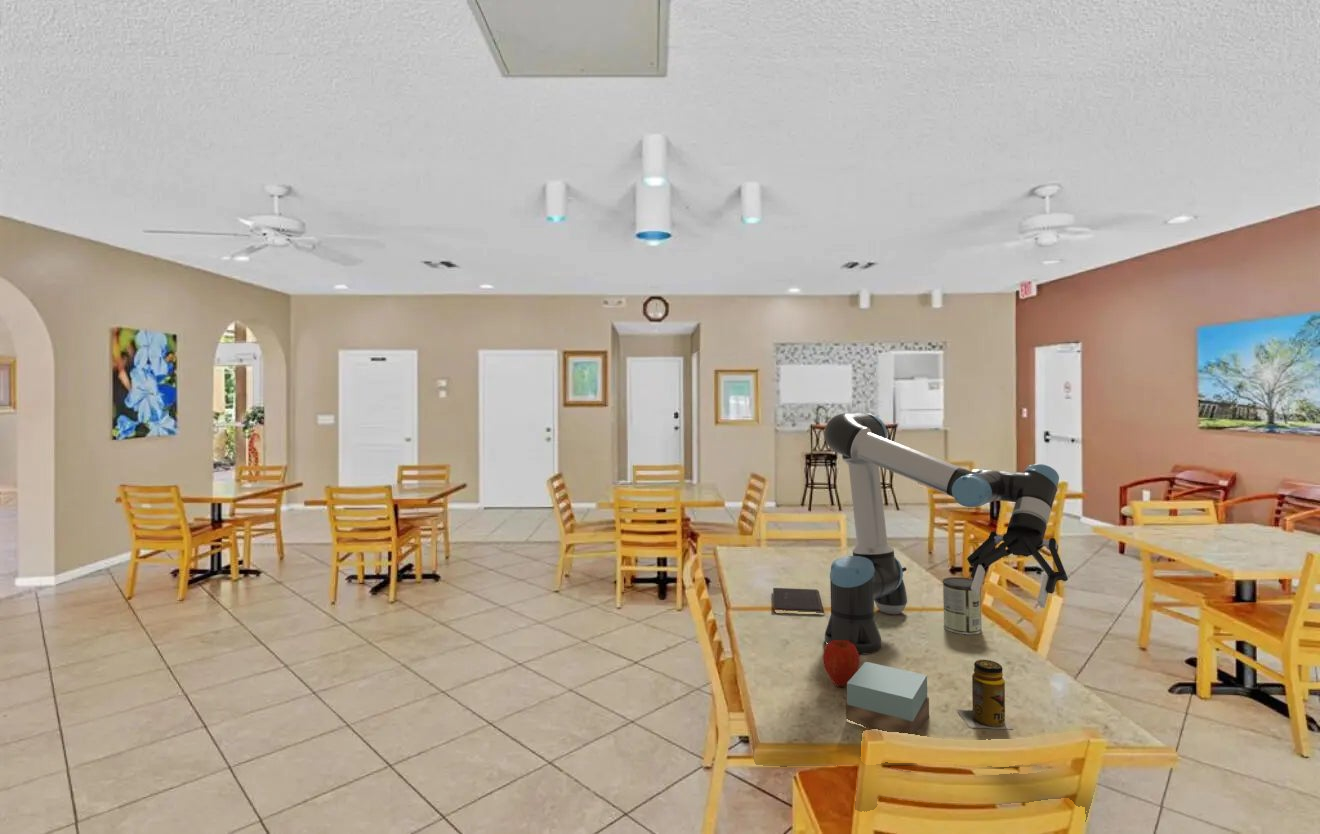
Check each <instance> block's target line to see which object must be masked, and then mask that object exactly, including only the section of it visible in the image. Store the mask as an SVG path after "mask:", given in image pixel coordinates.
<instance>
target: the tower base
mask: <svg viewBox="0 0 1320 834" xmlns="http://www.w3.org/2000/svg"><path fill="white" fill-rule="evenodd" d="M845 709H846V710H845V715H846V716H845V720H846V719H848V720H850V721H853V722H855V723H857V724H861V725H863V726H864V727H866V728H868V729H867V730H869V729H878V730H882V731H887V732H899V733H908V734H916V735H918V734H917V733H918V732H919V731H920V730H919V729H921V728H922V727H923V725H924V724H925V722H926V721H927V720H928V718H929V717H930V696H927V697H926V699H925V701H924V703H923V704H922V706H921V708H920V710H919V712H918V713H917V715H916V717H915V719H914V720H913V722H912V721H908V720H904V719H901V718H897V717H893V716H889V715H886V714H882V713H878V712H874V711H870V710H866V709H863V708H859V707H855V706H851V705H847V701H846V703H845ZM866 728H865V729H866ZM918 730H919V731H918Z"/></svg>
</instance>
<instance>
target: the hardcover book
mask: <svg viewBox="0 0 1320 834" xmlns="http://www.w3.org/2000/svg"><path fill="white" fill-rule="evenodd" d="M772 593H773V594H772V598H773V601H772V602H773V603H772V604H773V608H772V609H773V610H774V609H775V610H783V611H784V610H785V611H798V612H816V613H824V614H825V610H824V606H823V602H822V598H821V595H820V591H819V590H818V589H814V588H813V589H812V588H811V589H810V588H809V589H808V588H791V587H789V588H787V587H773V588H772Z"/></svg>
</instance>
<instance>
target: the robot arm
mask: <svg viewBox="0 0 1320 834" xmlns="http://www.w3.org/2000/svg"><path fill="white" fill-rule="evenodd" d="M823 431H824V435H823V436H824V440H825V443H826V444H827V446H828V447H829V448H830V450H832V451H834V452H835V453H837V454H840V455H842V456H841V457H842V461H843V462H845V463H846V464H847V465H848V473H849V481H850V490H851V491H850V493H851V501H852V509H853V511H852V512H853V518H854V519H853V520H854V529H855V536H856V546H855V547H854V548H853V549H852V555H849V556H842V557H839V558H836V559H834V561H833V562H831V565H830V572H829V579H830V581H829V582H830V587H829V588H830V617H829V620H828V623H827V626H826V628H825V632H824V642H825V641H826V642H827V643H829V642H831V641H833V640H845V641H849V642H851V643H852V644H853V645H855V647H856V649H857V651H858V653H869V654H873V652H874V653H877V652H878V651H880V650H881V649H882V636H881V634H880V631H879V627H878V625H877V622H876V618H875V601H874V600H876V599H878V598H880V597H882V596H885V595H888V594H890V593H892V592H893V591H894V590H895V589H897V588H898V587H899V585H900V584H901V581H902V579H903V576H904V572H903V570H902V568H903V567H902V564H901V562H900V560H898V559H897V557H896V556H895V552H894V551H895V550H894V548H893V547H892V546H891V545H889V543H888V536H887V528H886V519H885V511H884V510H885V509H884V501H883V500H884V499H883V494H882V493H883V492H882V491H883V490H882V482H881V475H880V474H881V473H880V467H881V468H883V469H884V470H888V471H890V472H892V473H895V474H897V475H900V476H902V477H904V478H906V479H909V480H912V481H915V482H916V483H918V484H921V485H923V486H926V487H928V488H931V489H933V490H936V491H938V492H939V493H942V494H945V495H948V496H950V497H952V498H953V499H954V500H955V502H957V503H958V504H959V505H960V506H963V507H965V508H978V507H982V506H984V505H986V504H990V503H992V502H995V501H999V502H1010V503H1011V502H1012V503H1014V506H1013V508H1012V512H1011V516H1010V518H1009V522H1008V524H1007V529H1006V532H1005V534H998V533H997V532H996V531H995V530H993V531H991V532H990V533H989V536H988V537H987V538H986V539H985V540H984V542H982V543H981V544H980V545H979V546H978V547H977V548H976V549H975V550H974V551H973V552H972V553H971V554H970V555H969V556H968V557H967V558H966V560H967V562H968V564H969V565H970V567H972V571H971V574H970V577H971V579H973V583H972V586H971V590H972V592H973V593H974V595H977V596H978V594H979V590H980V587H981V588H982V583H983V581H984V579H985V574H986V570H985V569H986V568H987V567H989V566H991V565H992V564H994V563H996V562H997V561H999V560H1001V559H1002V558H1004V557H1009V556H1010V555H1013V556H1023V557H1026V558H1028V557H1029V556H1030V557H1031V556H1032V557H1033V559H1034V560H1035V561H1036V562H1037V563H1038V564H1039V566H1040V567H1041V569H1042V570H1043V571H1044V573H1045V574H1043V577H1042V580H1041V584H1040V589H1039V592H1038V596H1037V599H1036V601H1037V603H1038V604H1039V607H1040V608H1043V609H1045V608H1046V604H1047V600H1048V596H1049V594H1054V592H1055V589H1056V585H1057V582H1058V581H1063V582H1067V581H1068V579H1069V577H1068V576H1067V572H1066V570H1065V567H1064V565H1063V562H1062V561H1061V557H1060V555H1059V544H1058V542H1057V540H1056V538H1055V537H1050V538H1049V539H1048V540H1047V539H1044V538H1045V536H1046V531H1047V526H1048V523H1049V520H1050V515H1051V512H1052V508H1053V505H1054V501H1055V499H1056V495H1057V492H1058V491H1059V490H1058V487H1059V481H1060V475H1059V472H1057V470H1055V469H1054V468H1053V467H1051V466H1049V465H1047V464H1043V463H1034V464H1030V465H1028V466H1027V467H1026V468H1025V470H1024V471H1023V472H1022V471H1021V472H1019V471H1013V472H1011V471H1004V470H1002V471H1001V470H990V469H988V468H987V469H985V468H983V469H981V468H979V469H977V468H974V469H971V470H968V469H965V468H963V467H961V466H958V465H955V464H953V463H950V462H948V461H945V460H943V459H940V458H938V457H935V456H932V455H930V454H926V453H925V452H922V451H919V450H916V449H914V448H911V447H908V446H907V445H903V444H901V443H898V442H895V441H893V440H890V439H888V430H887V427H886V425H885V422H884V421H883V420H882V419H881V418H879V417H878V416H877V415H874V414H872V413H867V412H859V413H856V412H855V413H840V414H836V415H835V416H833V417H832V418H830V419H829V421H828V422H827V423H826V425H825V427H824V430H823ZM997 545H998V546H997ZM1043 547H1045V548H1046V549H1047V550H1048V551H1049V552H1050V554H1051V556H1052V559H1053V562H1054V564H1055V567H1056V569H1057V571H1055V570H1054V569H1053V568H1052V567H1051V566H1050V565H1049V563H1048V562H1047V560H1046V559H1045V558H1044V557H1043V555H1042V554H1041V553H1040V551H1039V550H1041V549H1043ZM1006 548H1007V549H1006Z"/></svg>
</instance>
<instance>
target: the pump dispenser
mask: <svg viewBox="0 0 1320 834" xmlns="http://www.w3.org/2000/svg"><path fill="white" fill-rule="evenodd" d="M902 570H903V573H904V572H906V571H907V567H905V566H904V567H902ZM907 604H908V595H907V589H906V585H905V582H904V579H903V578H902V581H901V584H900V585H899V587H898V588H897V589H895V590H894V591H893V592H892V593H890V594H888V595H885V596H882V597H880V598H878V599H876V600H874V605H876V608H877V609H878V610H879V611H880V612H882V613H883V612H884V614H886V615H898V614H900V613H902V612H903V611H904V610H905V609H906V606H907Z"/></svg>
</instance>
